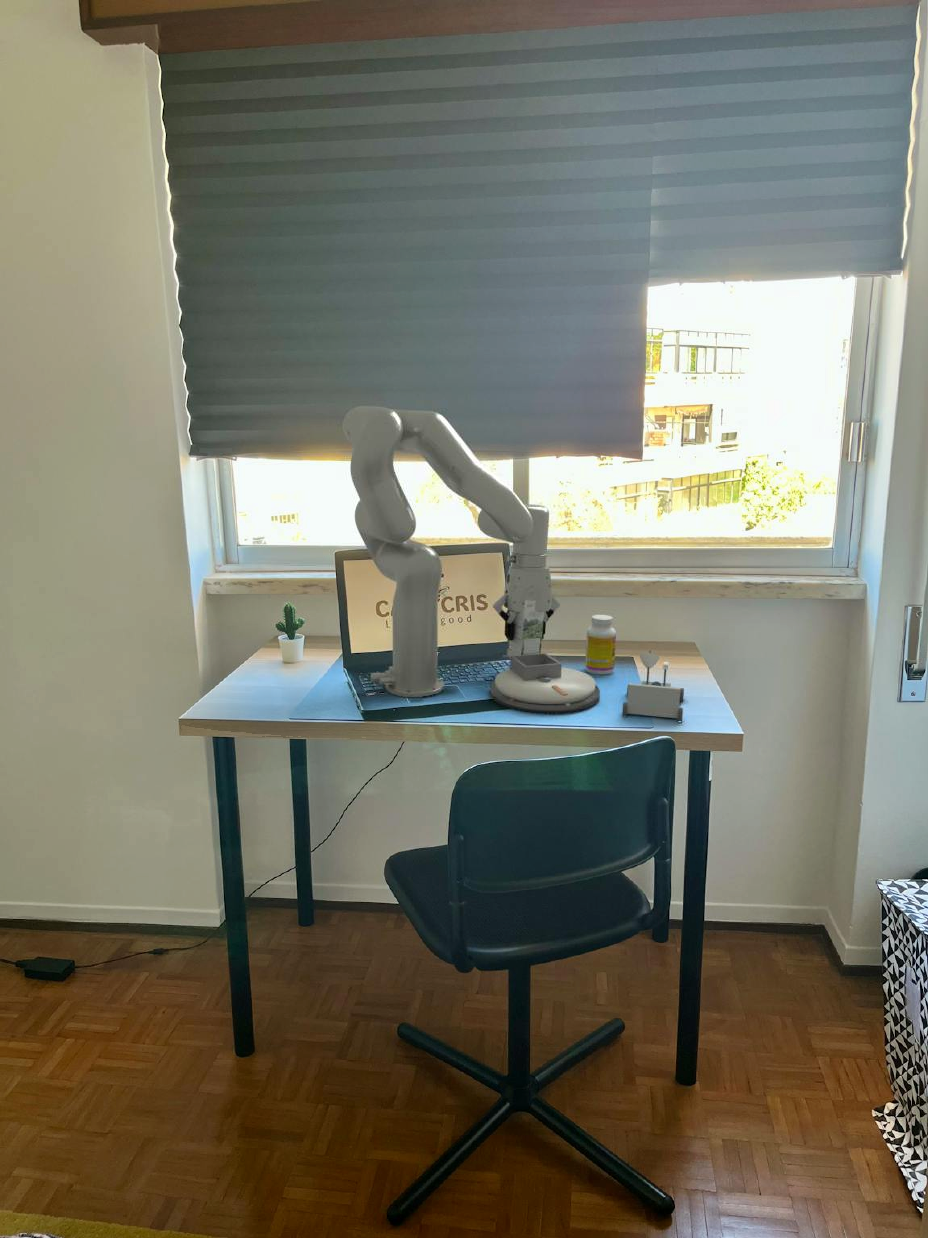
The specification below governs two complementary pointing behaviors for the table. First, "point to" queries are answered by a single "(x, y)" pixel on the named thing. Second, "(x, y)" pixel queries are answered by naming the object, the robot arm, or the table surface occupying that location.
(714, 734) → the table surface
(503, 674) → the dial
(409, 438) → the robot arm
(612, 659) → the supplement bottle
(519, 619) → the syrup box
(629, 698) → the toy vehicle
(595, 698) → the base
